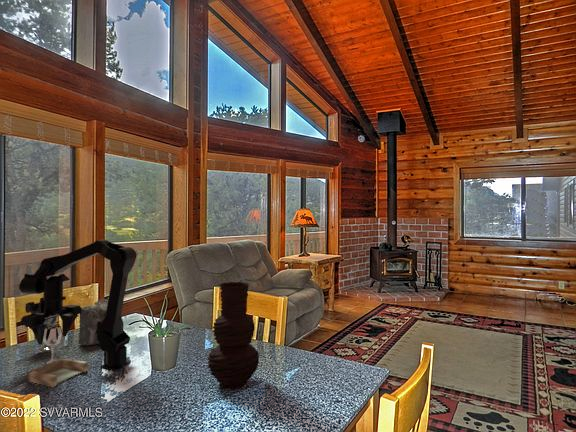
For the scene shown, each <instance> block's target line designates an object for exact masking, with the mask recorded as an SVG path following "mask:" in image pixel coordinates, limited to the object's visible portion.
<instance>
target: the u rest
mask: <svg viewBox="0 0 576 432" xmlns="http://www.w3.org/2000/svg"><path fill="white" fill-rule="evenodd" d="M56 360H57V361H54V362H52V363H49V364H47V365H45V364H44V365H41V366H39V367H36V368H34V369H32V370H30V371H27V372H26V373H27V374H26V382H27V381H28V382H27V383H29V382H33V383H32V384H34V383H37V384H36V385H39V384H42V385H41V386H44V385H47V386H46V387H49V386H51V387H50V388H55V387H57V386H58V385H59V384H58V383H60V382H62V381H64V382H66V381H67V380H66V379H69V378H71V377H73V376H75V375H77V376H79V375H81V374H80V373H82V372H85V373H87V372H88V368H89V366H88V364H89V363H88V361H83V360H78V359H71V358H68V357H67V358H66V357H63V358H60V359H56ZM86 371H87V372H86ZM78 374H79V375H78ZM82 374H83V373H82ZM75 377H76V376H75ZM73 378H74V377H73ZM71 379H72V378H71ZM65 380H66V381H65ZM69 380H70V379H69ZM62 383H63V382H62ZM57 384H58V385H57ZM60 384H61V383H60ZM56 385H57V386H56ZM54 386H55V387H54Z"/></svg>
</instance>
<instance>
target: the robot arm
mask: <svg viewBox="0 0 576 432" xmlns="http://www.w3.org/2000/svg"><path fill="white" fill-rule="evenodd" d="M99 254H100V255H101V256H102V257H103V258H104V259H106V260H109V263H110V264H109V266H110V269H111V272H112V277H111V283H110V289H109V294H108V298H107V300H108V305H107V310H106V316H105V318H104V319H102V320H100V321H98V322H97V330H96V332H95V334H97V335H96V338H97V340H98V341H99V343H98V344H99V346H100V350H101V352H103V364H102V365H100V368H101V369H106V370H112V371H113V370H114V371H118V370H119V369H122V368H123V367H125V366H127V365H129V364H130V363H131V362H130V361H128V360H127V354H128V353H127V348H128V347H127V346H126V345H128V344H129V343H130V340H131V337H130V336H129V334H128V333H127V332H126V331H125V330H124V321H123V317H122V313H123V312H122V311H123V305H124V301H125V294H126V290H127V289H126V288H127V285H128V284H127V283H128V278H129V275H130V273H131V271H132V270H133V268H134V265H135V263H136V260H137V256H138V254H137V252H136V251H135V249H134V248H133V247H130V246H126V247H125V246H123V245H120V244H117V243H113V242H111V241H109V240H107V239H99V240H95V241H94V242H93V243H90V244H87V245H85V246H82V247H80V248H77V249H75V250H73V251H70V252H68V253H65V254H61V255H57V256H52V257H47V258H43V259H42V260H41V261H40V265H39V266H38V268H37V269H36V271H35V272H34V273H31V272H27V273H24V275H23V278H22V279H21V281H20V283H19V285H18V289H19V291H20V293H22V294H29V295H30V294H32V295H33V294H36V295H37V294H38V295H41V294H43V295H42V296H43V297H40V299H39V302H37V303H35V302H34V301H29V302H27V303H25V312H26V313H27V315H24V316H22V317H21V319H20V326H24V327H26V328H29V329H30V330H31V331H32V333H33V335H34V337H35V340H36V342H37V344H38V345H39V346H41V345H42V344H43V338H44V332H45V326H46V325H45V324H43V323H44V322H45V320H46V319H50V318H54V317H57V316H58V317H60V319H61V321H62V322H61V329H62V335H63V336H62V337H64V338H65V337H67V335H68V334H69V331H70V330H71V328H72V326H73V324H74V322H75V321H76V319H77V317H80V314H81V309H82V307H81V306H80V305H78V304H67V305H64V300H66V297H67V296H65V295H64V282H67V281H70V278H69V276H67V275H66V274H65V273H64V272H65V271H67V270H69V269H70V268H71V267H72V266H74V265H75V264H76V263H79V262H81V261H84V260H87V259H88V258H91V257H93V256H96V255H99ZM61 273H62V274H61ZM36 313H39V314H36ZM42 313H43V315H40V314H42ZM49 315H51V316H49Z"/></svg>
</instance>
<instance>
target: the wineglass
mask: <svg viewBox="0 0 576 432" xmlns="http://www.w3.org/2000/svg"><path fill="white" fill-rule="evenodd" d="M63 337H64V336H63V333H62V325H58V324H57V325H56V324H55V325H52V326H47V327H45V332H44V338H43V342H42V344H45V345H47V346H52V347H51V351H50V353H51V358H50V360H47V361H48V362H47V361H46V362H47V363H52V362H54V361H57V360H58V359H55V358H54V352H55V350H54V347H53V346H57V345H59V344H60V343H61V342H62V340H63Z"/></svg>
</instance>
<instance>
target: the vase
mask: <svg viewBox="0 0 576 432" xmlns="http://www.w3.org/2000/svg"><path fill="white" fill-rule="evenodd" d="M218 286H219V289H220V291H219V295H220V302H221V303H220V309H221V311H220V313H221V315H219V316H218V318H216V319H214V321H215V322H214V323H213V326H212V329H213V330H212V333H213V334H212V335H213V337H214V340H215V343H216V344H218V345H216V346H215V347H214V348H211V349H210V352H209V353H208V357H207V360H208V361H207V364H208V365H207V367H208V368H209V371H210V372H211V373H210V374H211V375H212V376H213V377H214V379H216V382H217V383H219V386H220V387H221V388H222V389H224V390H231V391H234V390H238V389H242V388H244V387H245V386H246V385H247V384H248V381H249V380H250V379H251V378H252V376H253V375H254V374H255V372H256V371H257V369H258V366H259V363H260V359H259V357H260V355H259V351H258V350H257V349H256V348H255V346H253V345H252V344H250V343H251V342H252V339H253V338H254V331H255V329H256V328H255V327H256V326H255V323H254V319H253V318H252V317H251V316H250V315H248V313H247V312H248V296H249V294H248V292H249V291H248V290H249V287H250V284H249V282H242V281H229V282H222V283H220V284H218Z"/></svg>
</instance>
